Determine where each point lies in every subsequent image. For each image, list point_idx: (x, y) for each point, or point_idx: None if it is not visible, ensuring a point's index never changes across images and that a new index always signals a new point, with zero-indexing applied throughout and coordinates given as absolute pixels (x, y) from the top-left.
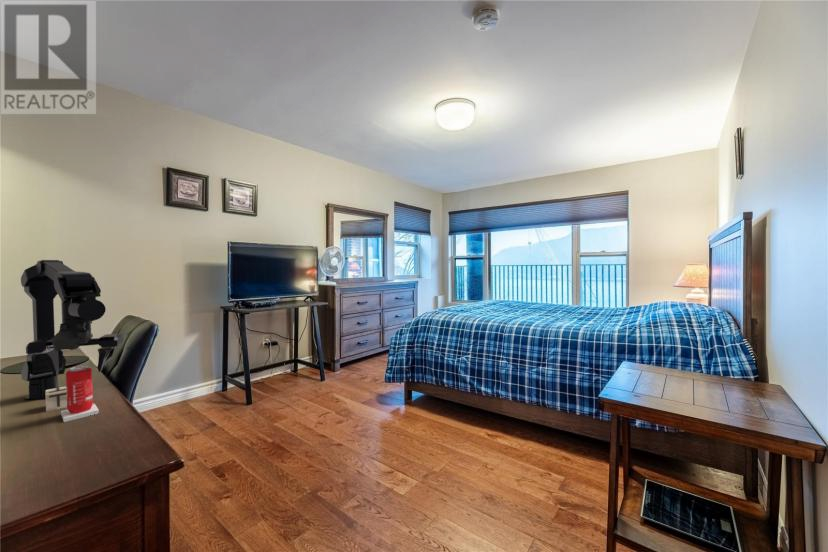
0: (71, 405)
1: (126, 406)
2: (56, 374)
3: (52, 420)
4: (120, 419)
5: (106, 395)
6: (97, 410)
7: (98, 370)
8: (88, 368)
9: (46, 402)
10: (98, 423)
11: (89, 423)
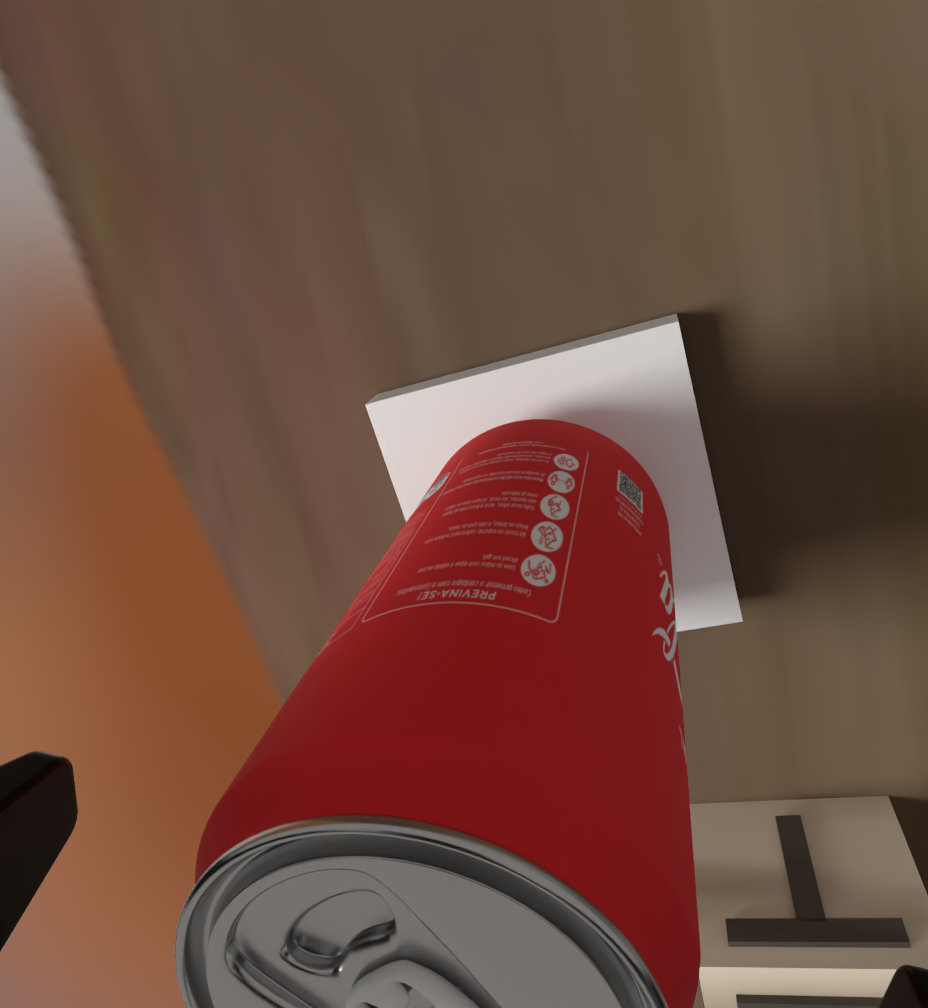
0: (609, 459)
1: (171, 462)
2: (917, 1006)
3: (798, 461)
4: (105, 21)
5: None
6: (376, 401)
7: (42, 770)
8: (196, 899)
9: (913, 875)
10: (303, 16)
11: (400, 83)
